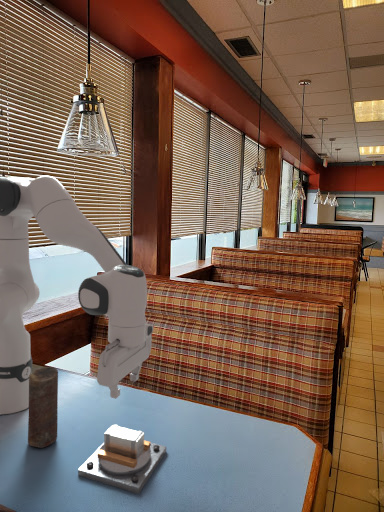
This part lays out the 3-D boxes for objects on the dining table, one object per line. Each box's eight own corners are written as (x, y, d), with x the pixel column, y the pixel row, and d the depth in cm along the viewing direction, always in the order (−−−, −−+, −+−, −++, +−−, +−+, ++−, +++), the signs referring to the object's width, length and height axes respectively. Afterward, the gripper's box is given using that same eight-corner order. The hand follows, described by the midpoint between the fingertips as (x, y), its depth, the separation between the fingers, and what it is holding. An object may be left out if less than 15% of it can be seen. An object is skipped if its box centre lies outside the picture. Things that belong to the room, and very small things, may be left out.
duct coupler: (136, 461, 92) (136, 441, 91) (103, 452, 95) (104, 432, 94) (144, 451, 96) (144, 431, 95) (112, 442, 99) (112, 423, 98)
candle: (63, 438, 105) (63, 369, 102) (45, 454, 98) (44, 380, 95) (41, 432, 107) (40, 364, 104) (21, 447, 100) (20, 374, 98)
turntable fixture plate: (78, 475, 91) (78, 458, 90) (112, 437, 106) (113, 423, 105) (138, 493, 86) (138, 476, 85) (166, 451, 101) (166, 437, 100)
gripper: (116, 350, 80) (114, 411, 82) (156, 324, 100) (154, 374, 101) (90, 345, 82) (89, 405, 84) (134, 320, 102) (133, 369, 103)
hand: (125, 388), depth 93 cm, fingers open, 8 cm apart
